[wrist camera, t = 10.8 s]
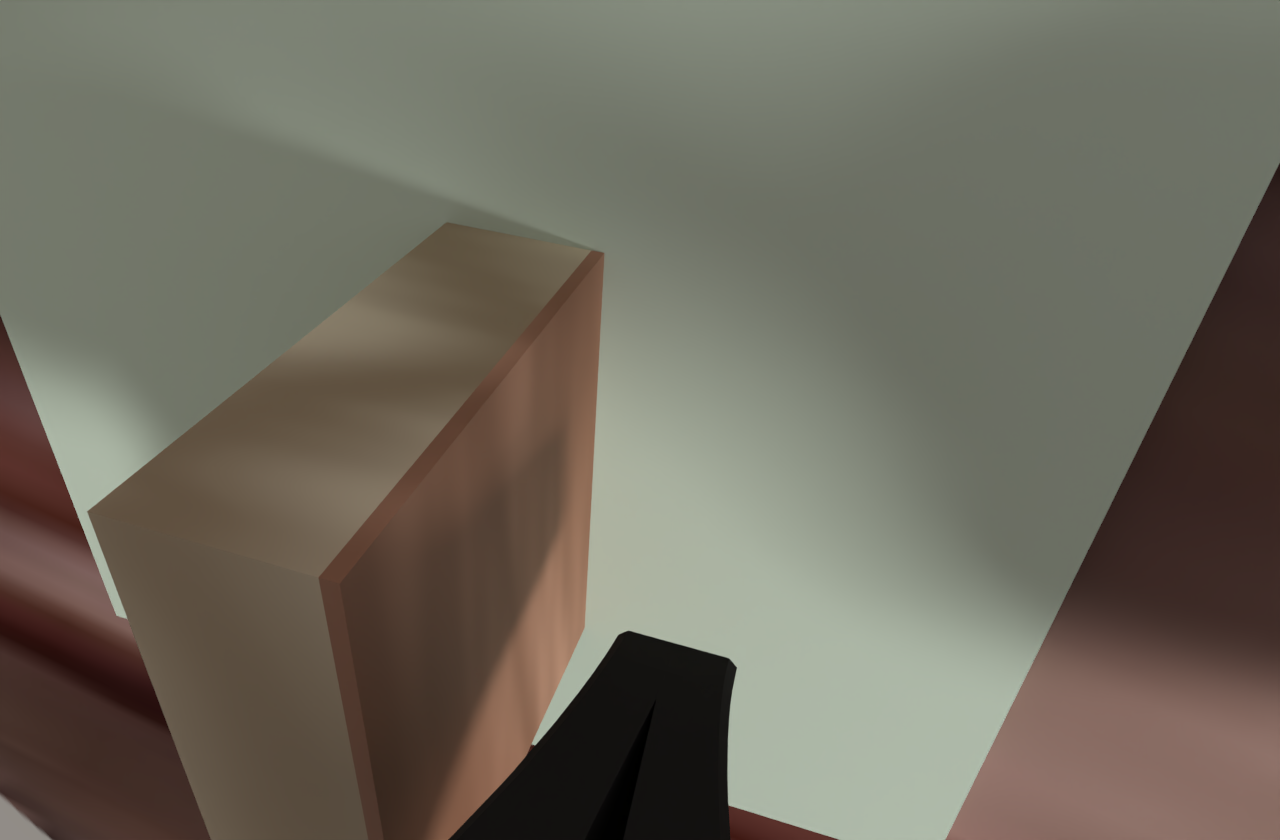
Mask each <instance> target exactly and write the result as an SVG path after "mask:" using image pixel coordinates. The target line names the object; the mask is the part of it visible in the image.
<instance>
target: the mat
mask: <svg viewBox="0 0 1280 840" xmlns="http://www.w3.org/2000/svg"><path fill="white" fill-rule="evenodd" d="M1279 163H1280V0H0V315H1V318H2V320H3V323H4V326H5V328H6V331H7V333H8V336H9V339H10V341H11V344H12V346H13V349H14V352H15V354H16V357H17V359H18V362H19V364H20V367H21V370H22V372H23V375H24V377H25V380H26V383H27V385H28V388H29V390H30V393H31V395H32V398H33V401H34V403H35V406H36V408H37V411H38V414H39V416H40V419H41V421H42V424H43V427H44V429H45V432H46V434H47V437H48V439H49V442H50V445H51V447H52V450H53V452H54V455H55V458H56V460H57V463H58V465H59V468H60V471H61V473H62V476H63V478H64V481H65V483H66V486H67V489H68V491H69V494H70V496H71V499H72V502H73V504H74V507H75V509H76V512H77V514H78V517H79V520H80V522H81V525H82V527H83V530H84V533H85V535H86V538H87V540H88V543H89V546H90V548H91V551H92V553H93V556H94V558H95V561H96V564H97V566H98V569H99V571H100V574H101V577H102V579H103V582H104V584H105V587H106V589H107V592H108V595H109V597H110V600H111V602H112V605H113V608H114V610H115V613H116V615H117V616H120V617H123V618H126V619H127V616H126V613H125V611H124V608H123V605H122V603H121V600H120V597H119V595H118V592H117V590H116V587H115V584H114V582H113V579H112V576H111V574H110V571H109V568H108V566H107V563H106V560H105V558H104V555H103V552H102V550H101V547H100V545H99V542H98V539H97V537H96V534H95V531H94V529H93V526H92V523H91V521H90V518H89V515H88V513H87V511H88V510H89V509H91V508H92V507H93V506H94V505H96V504H97V503H98V502H99V501H101V500H102V499H103V498H104V497H106V496H107V495H108V494H109V493H111V492H112V491H113V490H114V489H116V488H117V487H118V486H119V485H121V484H122V483H123V482H124V481H126V480H127V479H128V478H129V477H130V476H132V475H133V474H134V473H135V472H137V471H138V470H139V469H140V468H142V467H143V466H144V465H145V464H147V463H148V462H149V461H150V460H152V459H153V458H154V457H155V456H157V455H158V454H159V453H160V452H162V451H163V450H164V449H165V448H167V447H168V446H169V445H170V444H171V443H173V442H174V441H175V440H176V439H178V438H179V437H180V436H181V435H183V434H184V433H185V432H186V431H188V430H189V429H190V428H191V427H193V426H194V425H195V424H196V423H198V422H199V421H200V420H201V419H203V418H204V417H205V416H206V415H208V414H209V413H210V412H211V411H212V410H214V409H215V408H216V407H217V406H219V405H220V404H221V403H222V402H224V401H225V400H226V399H227V398H229V397H230V396H231V395H232V394H234V393H235V392H236V391H237V390H239V389H240V388H241V387H242V386H244V385H245V384H246V383H247V382H249V381H250V380H251V379H252V378H254V377H255V376H256V375H257V374H258V373H260V372H261V371H262V370H263V369H265V368H266V367H267V366H268V365H270V364H271V363H272V362H273V361H275V360H276V359H277V358H278V357H280V356H281V355H282V354H283V353H285V352H286V351H287V350H288V349H290V348H291V347H292V346H293V345H295V344H296V343H297V342H298V341H299V340H301V339H302V338H303V337H304V336H306V335H307V334H308V333H309V332H311V331H312V330H313V329H314V328H316V327H317V326H318V325H319V324H321V323H322V322H323V321H324V320H326V319H327V318H328V317H329V316H331V315H332V314H333V313H334V312H336V311H337V310H338V309H339V308H340V307H342V306H343V305H344V304H345V303H347V302H348V301H349V300H350V299H352V298H353V297H354V296H355V295H357V294H358V293H359V292H360V291H362V290H363V289H364V288H365V287H367V286H368V285H369V284H370V283H372V282H373V281H374V280H375V279H377V278H378V277H379V276H380V275H381V274H383V273H384V272H385V271H386V270H388V269H389V268H390V267H391V266H393V265H394V264H395V263H396V262H398V261H399V260H400V259H401V258H403V257H404V256H405V255H406V254H408V253H409V252H410V251H411V250H413V249H414V248H415V247H416V246H418V245H419V244H420V243H421V242H422V241H424V240H425V239H426V238H427V237H429V236H430V235H431V234H432V233H434V232H435V231H436V230H437V229H439V228H440V227H441V226H442V225H444V224H445V223H446V222H448V223H453V224H458V225H463V226H469V227H474V228H479V229H484V230H489V231H494V232H499V233H505V234H510V235H515V236H520V237H525V238H530V239H535V240H541V241H546V242H551V243H556V244H561V245H566V246H571V247H576V248H582V249H587V250H592V251H597V252H602V253H605V254H604V272H603V291H602V310H601V329H600V348H599V367H598V386H597V405H596V424H595V442H594V461H593V480H592V499H591V518H590V537H589V556H588V575H587V593H586V612H585V628H584V630H583V633H582V635H581V637H580V639H579V641H578V644H577V646H576V648H575V650H574V652H573V654H572V657H571V659H570V661H569V663H568V665H567V668H566V670H565V672H564V674H563V676H562V678H561V681H560V683H559V685H558V687H557V689H556V692H555V694H554V696H553V698H552V700H551V702H550V705H549V707H548V709H547V711H546V713H545V716H544V718H543V720H542V722H541V724H540V726H539V729H538V731H537V733H536V735H535V737H534V740H533V742H532V744H533V745H536V744H537V743H538V742H539V741H540V739H541V738H542V737H543V736H544V735H545V734H546V732H547V731H548V730H549V729H550V728H551V727H552V725H553V724H554V723H555V722H556V721H557V719H558V718H559V717H560V715H561V714H562V713H563V712H564V710H565V709H566V708H567V707H568V705H569V704H570V703H571V702H572V700H573V699H574V698H575V696H576V695H577V694H578V693H579V691H580V690H581V689H582V687H583V686H584V685H585V683H586V682H587V681H588V679H589V678H590V676H591V675H592V674H593V672H594V671H595V669H596V668H597V667H598V665H599V664H600V662H601V661H602V659H603V658H604V657H605V655H606V654H607V652H608V651H609V649H610V647H611V646H612V644H613V642H614V641H615V639H616V638H617V636H618V635H619V634H621V633H623V632H626V631H628V630H629V631H632V632H636V633H639V634H643V635H647V636H650V637H654V638H658V639H661V640H665V641H668V642H672V643H676V644H679V645H683V646H687V647H690V648H694V649H698V650H701V651H705V652H708V653H712V654H716V655H719V656H723V657H727V658H729V659H730V660H731V661H732V662H733V663H734V665H735V666H736V667H737V670H736V675H735V680H734V685H733V690H732V697H731V704H730V715H729V730H728V805H730V806H733V807H736V808H739V809H743V810H746V811H749V812H752V813H756V814H759V815H762V816H765V817H768V818H772V819H775V820H778V821H781V822H785V823H788V824H791V825H794V826H797V827H801V828H804V829H807V830H810V831H814V832H817V833H820V834H823V835H827V836H830V837H833V838H836V839H839V840H945V839H946V837H947V835H948V833H949V831H950V829H951V827H952V825H953V823H954V821H955V819H956V817H957V815H958V813H959V811H960V809H961V807H962V805H963V802H964V800H965V798H966V796H967V794H968V792H969V790H970V788H971V786H972V784H973V782H974V780H975V778H976V776H977V774H978V772H979V770H980V768H981V766H982V764H983V762H984V760H985V758H986V756H987V754H988V752H989V750H990V748H991V746H992V744H993V742H994V740H995V738H996V736H997V734H998V732H999V730H1000V728H1001V726H1002V724H1003V722H1004V720H1005V718H1006V715H1007V713H1008V711H1009V709H1010V707H1011V705H1012V703H1013V701H1014V699H1015V697H1016V695H1017V693H1018V691H1019V689H1020V687H1021V685H1022V683H1023V681H1024V679H1025V677H1026V675H1027V673H1028V671H1029V669H1030V667H1031V665H1032V663H1033V661H1034V659H1035V657H1036V655H1037V653H1038V651H1039V649H1040V647H1041V645H1042V643H1043V641H1044V639H1045V637H1046V635H1047V633H1048V631H1049V629H1050V626H1051V624H1052V622H1053V620H1054V618H1055V616H1056V614H1057V612H1058V610H1059V608H1060V606H1061V604H1062V602H1063V600H1064V598H1065V596H1066V594H1067V592H1068V590H1069V588H1070V586H1071V584H1072V582H1073V580H1074V578H1075V576H1076V574H1077V572H1078V570H1079V568H1080V566H1081V564H1082V562H1083V560H1084V558H1085V556H1086V554H1087V552H1088V550H1089V548H1090V546H1091V544H1092V542H1093V540H1094V537H1095V535H1096V533H1097V531H1098V529H1099V527H1100V525H1101V523H1102V521H1103V519H1104V517H1105V515H1106V513H1107V511H1108V509H1109V507H1110V505H1111V503H1112V501H1113V499H1114V497H1115V495H1116V493H1117V491H1118V489H1119V487H1120V485H1121V483H1122V481H1123V479H1124V477H1125V475H1126V473H1127V471H1128V469H1129V467H1130V465H1131V463H1132V461H1133V459H1134V457H1135V455H1136V453H1137V450H1138V448H1139V446H1140V444H1141V442H1142V440H1143V438H1144V436H1145V434H1146V432H1147V430H1148V428H1149V426H1150V424H1151V422H1152V420H1153V418H1154V416H1155V414H1156V412H1157V410H1158V408H1159V406H1160V404H1161V402H1162V400H1163V398H1164V396H1165V394H1166V392H1167V390H1168V388H1169V386H1170V384H1171V382H1172V380H1173V378H1174V376H1175V374H1176V372H1177V370H1178V368H1179V366H1180V364H1181V361H1182V359H1183V357H1184V355H1185V353H1186V351H1187V349H1188V347H1189V345H1190V343H1191V341H1192V339H1193V337H1194V335H1195V333H1196V331H1197V329H1198V327H1199V325H1200V323H1201V321H1202V319H1203V317H1204V315H1205V313H1206V311H1207V309H1208V307H1209V305H1210V303H1211V301H1212V299H1213V297H1214V295H1215V293H1216V291H1217V289H1218V287H1219V285H1220V283H1221V281H1222V279H1223V277H1224V274H1225V272H1226V270H1227V268H1228V266H1229V264H1230V262H1231V260H1232V258H1233V256H1234V254H1235V252H1236V250H1237V248H1238V246H1239V244H1240V242H1241V240H1242V238H1243V236H1244V234H1245V232H1246V230H1247V228H1248V226H1249V224H1250V222H1251V220H1252V218H1253V216H1254V214H1255V212H1256V210H1257V208H1258V206H1259V204H1260V202H1261V200H1262V198H1263V196H1264V194H1265V192H1266V190H1267V188H1268V185H1269V183H1270V181H1271V179H1272V177H1273V175H1274V173H1275V171H1276V169H1277V167H1278V165H1279Z"/></svg>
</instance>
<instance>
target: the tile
mask: <svg viewBox="0 0 1280 840" xmlns="http://www.w3.org/2000/svg"><path fill="white" fill-rule="evenodd" d="M604 254H605V253H602V252H597V251H592V250H587V249H582V248H576V247H571V246H566V245H561V244H556V243H551V242H546V241H541V240H535V239H530V238H525V237H520V236H515V235H510V234H505V233H499V232H494V231H489V230H484V229H479V228H474V227H469V226H463V225H458V224H453V223H448V222H446V223H445V224H444V225H442V226H441V227H440V228H439V229H437V230H436V231H435V232H434V233H432V234H431V235H430V236H429V237H427V238H426V239H425V240H424V241H422V242H421V243H420V244H419V245H418V246H416V247H415V248H414V249H413V250H411V251H410V252H409V253H408V254H406V255H405V256H404V257H403V258H401V259H400V260H399V261H398V262H396V263H395V264H394V265H393V266H391V267H390V268H389V269H388V270H386V271H385V272H384V273H383V274H381V275H380V276H379V277H378V278H377V279H375V280H374V281H373V282H372V283H370V284H369V285H368V286H367V287H365V288H364V289H363V290H362V291H360V292H359V293H358V294H357V295H355V296H354V297H353V298H352V299H350V300H349V301H348V302H347V303H345V304H344V305H343V306H342V307H340V308H339V309H338V310H337V311H336V312H334V313H333V314H332V315H331V316H329V317H328V318H327V319H326V320H324V321H323V322H322V323H321V324H319V325H318V326H317V327H316V328H314V329H313V330H312V331H311V332H309V333H308V334H307V335H306V336H304V337H303V338H302V339H301V340H299V341H298V342H297V343H296V344H295V345H293V346H292V347H291V348H290V349H288V350H287V351H286V352H285V353H283V354H282V355H281V356H280V357H278V358H277V359H276V360H275V361H273V362H272V363H271V364H270V365H268V366H267V367H266V368H265V369H263V370H262V371H261V372H260V373H258V374H257V375H256V376H255V377H254V378H252V379H251V380H250V381H249V382H247V383H246V384H245V385H244V386H242V387H241V388H240V389H239V390H237V391H236V392H235V393H234V394H232V395H231V396H230V397H229V398H227V399H226V400H225V401H224V402H222V403H221V404H220V405H219V406H217V407H216V408H215V409H214V410H212V411H211V412H210V413H209V414H208V415H206V416H205V417H204V418H203V419H201V420H200V421H199V422H198V423H196V424H195V425H194V426H193V427H191V428H190V429H189V430H188V431H186V432H185V433H184V434H183V435H181V436H180V437H179V438H178V439H176V440H175V441H174V442H173V443H171V444H170V445H169V446H168V447H167V448H165V449H164V450H163V451H162V452H160V453H159V454H158V455H157V456H155V457H154V458H153V459H152V460H150V461H149V462H148V463H147V464H145V465H144V466H143V467H142V468H140V469H139V470H138V471H137V472H135V473H134V474H133V475H132V476H130V477H129V478H128V479H127V480H126V481H124V482H123V483H122V484H121V485H119V486H118V487H117V488H116V489H114V490H113V491H112V492H111V493H109V494H108V495H107V496H106V497H104V498H103V499H102V500H101V501H99V502H98V503H97V504H96V505H94V506H93V507H92V508H91V509H89V510H88V511H87V513H88V515H89V518H90V521H91V523H92V526H93V529H94V531H95V534H96V537H97V539H98V542H99V545H100V547H101V550H102V552H103V555H104V558H105V560H106V563H107V566H108V568H109V571H110V574H111V576H112V579H113V582H114V584H115V587H116V590H117V592H118V595H119V597H120V600H121V603H122V605H123V608H124V611H125V613H126V616H127V619H128V621H129V624H130V627H131V629H132V632H133V635H134V637H135V640H136V643H137V645H138V648H139V650H140V653H141V656H142V658H143V661H144V664H145V666H146V669H147V672H148V674H149V677H150V680H151V682H152V685H153V688H154V690H155V693H156V696H157V698H158V701H159V703H160V706H161V709H162V711H163V714H164V717H165V719H166V722H167V725H168V727H169V730H170V733H171V735H172V738H173V741H174V743H175V746H176V748H177V751H178V754H179V756H180V759H181V762H182V764H183V767H184V770H185V772H186V775H187V778H188V780H189V783H190V786H191V788H192V791H193V794H194V796H195V799H196V801H197V804H198V807H199V809H200V812H201V815H202V817H203V820H204V823H205V825H206V828H207V831H208V833H209V836H210V839H211V840H448V839H449V838H450V837H451V836H452V835H453V834H454V833H455V832H456V831H457V830H458V829H459V828H460V827H461V826H462V825H463V824H464V823H465V822H466V821H467V820H468V819H469V818H470V816H471V815H472V814H473V813H474V812H475V811H476V810H477V809H478V808H479V807H480V806H481V805H482V804H483V803H484V802H485V801H486V800H487V799H488V798H489V797H490V796H491V795H492V794H493V792H494V791H495V790H496V789H497V788H498V787H499V786H500V785H501V784H502V783H503V782H504V781H505V780H506V779H507V777H508V776H509V775H510V774H511V773H512V772H513V771H514V770H515V769H516V767H517V766H518V765H519V764H520V763H521V762H522V760H523V759H524V758H525V757H526V755H527V753H528V750H529V748H530V746H531V744H532V742H533V740H534V737H535V735H536V733H537V731H538V729H539V726H540V724H541V722H542V720H543V718H544V716H545V713H546V711H547V709H548V707H549V705H550V702H551V700H552V698H553V696H554V694H555V692H556V689H557V687H558V685H559V683H560V681H561V678H562V676H563V674H564V672H565V670H566V668H567V665H568V663H569V661H570V659H571V657H572V654H573V652H574V650H575V648H576V646H577V644H578V641H579V639H580V637H581V635H582V633H583V630H584V628H585V612H586V593H587V575H588V556H589V537H590V518H591V499H592V480H593V461H594V442H595V424H596V405H597V386H598V367H599V348H600V329H601V310H602V291H603V272H604Z"/></svg>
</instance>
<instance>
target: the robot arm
mask: <svg viewBox="0 0 1280 840" xmlns="http://www.w3.org/2000/svg"><path fill="white" fill-rule="evenodd" d="M736 670H737V667H736V666H735V665H734V663H733V662H732V661H731V660H730V659H729V658H727V657H723V656H719V655H716V654H712V653H708V652H705V651H701V650H698V649H694V648H690V647H687V646H683V645H679V644H676V643H672V642H668V641H665V640H661V639H658V638H654V637H650V636H647V635H643V634H639V633H636V632H632V631H629V630H628V631H626V632H623V633H621V634H619V635H618V636H617V638H616V639H615V641H614V642H613V644H612V646H611V647H610V649H609V651H608V652H607V654H606V655H605V657H604V658H603V659H602V661H601V662H600V664H599V665H598V667H597V668H596V669H595V671H594V672H593V674H592V675H591V676H590V678H589V679H588V681H587V682H586V683H585V685H584V686H583V687H582V689H581V690H580V691H579V693H578V694H577V695H576V696H575V698H574V699H573V700H572V702H571V703H570V704H569V705H568V707H567V708H566V709H565V710H564V712H563V713H562V714H561V715H560V717H559V718H558V719H557V721H556V722H555V723H554V724H553V725H552V727H551V728H550V729H549V730H548V731H547V732H546V734H545V735H544V736H543V737H542V738H541V739H540V741H539V742H538V743H537V744H536V745H535V746H534V748H533V749H532V750H531V751H530V752H529V753H528V755H527V756H526V757H525V758H524V759H523V760H522V762H521V763H520V764H519V765H518V766H517V767H516V769H515V770H514V771H513V772H512V773H511V774H510V775H509V776H508V777H507V779H506V780H505V781H504V782H503V783H502V784H501V785H500V786H499V787H498V788H497V789H496V790H495V791H494V792H493V794H492V795H491V796H490V797H489V798H488V799H487V800H486V801H485V802H484V803H483V804H482V805H481V806H480V807H479V808H478V809H477V810H476V811H475V812H474V813H473V814H472V815H471V816H470V818H469V819H468V820H467V821H466V822H465V823H464V824H463V825H462V826H461V827H460V828H459V829H458V830H457V831H456V832H455V833H454V834H453V835H452V836H451V837H450V838H449V839H448V840H730V826H729V808H728V730H729V715H730V704H731V697H732V690H733V685H734V680H735V675H736Z"/></svg>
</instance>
